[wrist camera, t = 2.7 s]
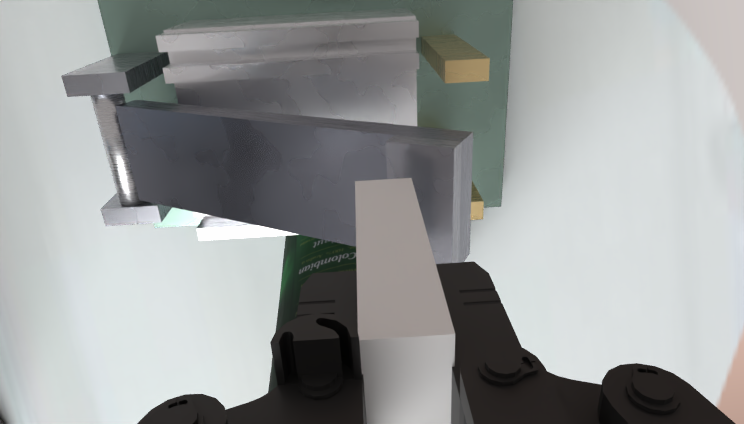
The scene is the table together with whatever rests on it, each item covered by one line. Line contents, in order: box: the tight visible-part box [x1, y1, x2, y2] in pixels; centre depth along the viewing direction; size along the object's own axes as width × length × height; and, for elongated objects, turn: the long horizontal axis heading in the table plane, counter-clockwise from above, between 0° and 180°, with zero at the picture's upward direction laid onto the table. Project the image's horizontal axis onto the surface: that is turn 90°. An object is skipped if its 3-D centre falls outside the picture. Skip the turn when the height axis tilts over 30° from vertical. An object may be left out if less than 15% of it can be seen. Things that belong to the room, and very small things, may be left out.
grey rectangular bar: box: [115, 100, 473, 264], centre depth 19 cm, size 14×4×2 cm, turn 93°
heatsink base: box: [62, 0, 513, 241], centre depth 24 cm, size 19×12×8 cm, turn 93°
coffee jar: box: [268, 235, 357, 393], centre depth 24 cm, size 10×8×19 cm
